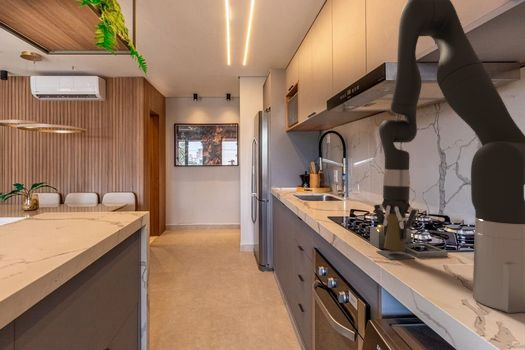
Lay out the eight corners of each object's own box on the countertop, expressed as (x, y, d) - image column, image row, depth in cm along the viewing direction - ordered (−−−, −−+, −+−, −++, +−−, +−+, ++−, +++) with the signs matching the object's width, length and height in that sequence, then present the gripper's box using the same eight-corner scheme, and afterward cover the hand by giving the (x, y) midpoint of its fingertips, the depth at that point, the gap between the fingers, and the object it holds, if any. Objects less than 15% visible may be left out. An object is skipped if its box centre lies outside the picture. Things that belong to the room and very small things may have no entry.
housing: (447, 256, 95) (448, 237, 95) (397, 258, 92) (398, 239, 92) (412, 242, 112) (412, 226, 112) (369, 243, 109) (370, 227, 109)
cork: (385, 244, 100) (386, 210, 99) (405, 246, 97) (406, 212, 96) (382, 248, 94) (383, 213, 94) (404, 251, 92) (405, 215, 91)
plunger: (387, 240, 105) (388, 226, 105) (379, 241, 105) (380, 226, 105) (383, 238, 108) (383, 224, 108) (375, 239, 108) (375, 225, 108)
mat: (414, 258, 92) (414, 257, 92) (390, 259, 91) (390, 258, 91) (399, 251, 100) (399, 250, 100) (376, 252, 99) (376, 250, 99)
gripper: (368, 183, 98) (367, 236, 99) (413, 186, 87) (412, 245, 88) (381, 182, 103) (380, 233, 103) (425, 185, 92) (423, 241, 92)
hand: (394, 238), depth 95 cm, fingers closed on cork, 4 cm apart
